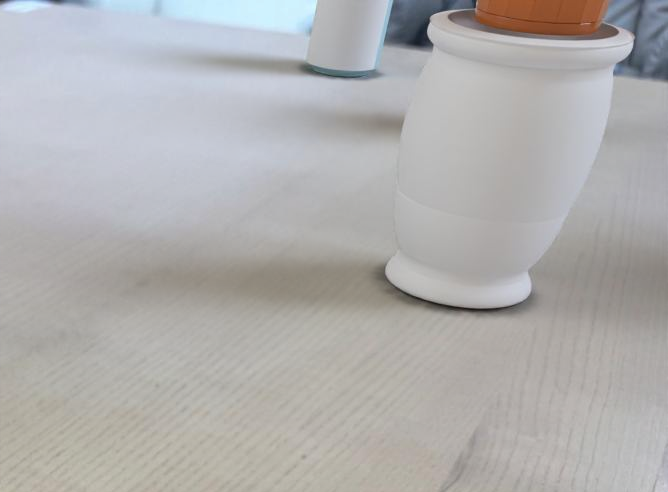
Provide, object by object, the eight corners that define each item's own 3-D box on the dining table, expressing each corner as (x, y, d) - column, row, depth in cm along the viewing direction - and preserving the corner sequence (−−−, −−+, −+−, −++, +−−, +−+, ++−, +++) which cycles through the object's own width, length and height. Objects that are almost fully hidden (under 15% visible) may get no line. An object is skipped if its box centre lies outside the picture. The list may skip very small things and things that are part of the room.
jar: (433, 326, 69) (513, 47, 60) (333, 262, 77) (392, 8, 68) (586, 309, 71) (683, 40, 63) (474, 249, 79) (547, 3, 71)
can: (293, 70, 121) (318, -63, 114) (320, 58, 126) (346, -70, 119) (361, 82, 118) (391, -55, 111) (386, 69, 122) (417, -63, 115)
